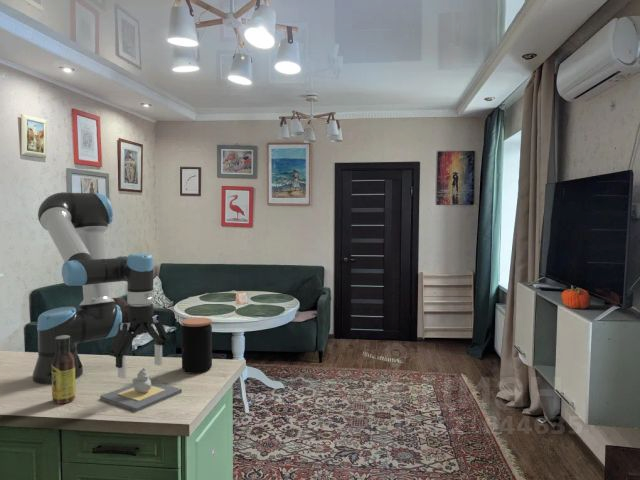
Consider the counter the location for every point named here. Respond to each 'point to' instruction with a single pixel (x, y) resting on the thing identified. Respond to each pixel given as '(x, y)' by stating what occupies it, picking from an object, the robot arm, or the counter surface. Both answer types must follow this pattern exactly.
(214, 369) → the counter surface
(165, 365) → the counter surface
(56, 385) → the sauce bottle
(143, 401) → the board
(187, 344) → the coffee jar
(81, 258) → the robot arm
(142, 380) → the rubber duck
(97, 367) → the counter surface
